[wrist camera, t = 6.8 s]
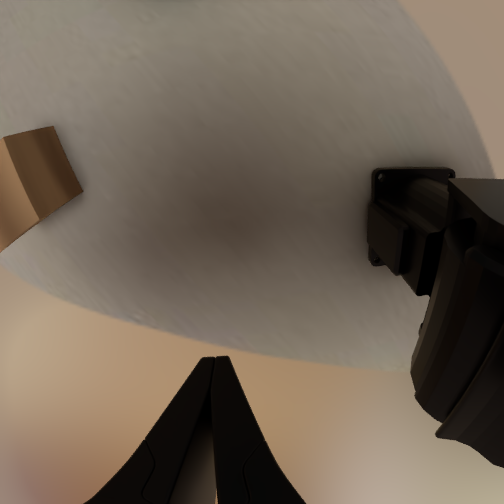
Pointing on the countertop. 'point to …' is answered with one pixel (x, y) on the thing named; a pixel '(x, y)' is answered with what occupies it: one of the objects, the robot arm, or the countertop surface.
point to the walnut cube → (32, 181)
